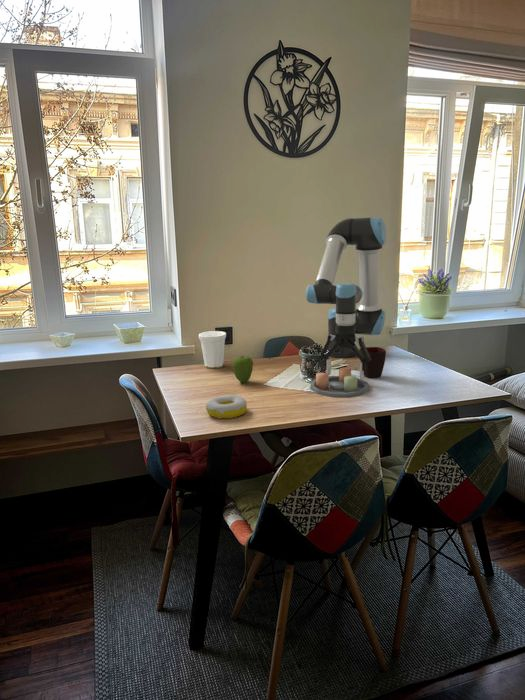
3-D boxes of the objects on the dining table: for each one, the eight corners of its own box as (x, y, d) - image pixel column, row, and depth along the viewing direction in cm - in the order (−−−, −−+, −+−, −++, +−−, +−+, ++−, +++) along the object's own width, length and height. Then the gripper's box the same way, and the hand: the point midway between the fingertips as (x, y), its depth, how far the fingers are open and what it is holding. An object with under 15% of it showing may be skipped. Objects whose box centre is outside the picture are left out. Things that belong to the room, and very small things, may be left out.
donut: (205, 421, 168) (204, 407, 166) (207, 407, 181) (206, 394, 180) (247, 419, 168) (247, 405, 167) (246, 405, 182) (245, 392, 180)
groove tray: (301, 385, 201) (300, 380, 200) (348, 378, 209) (348, 373, 208) (328, 403, 181) (328, 397, 181) (379, 394, 189) (379, 388, 188)
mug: (365, 382, 203) (366, 353, 200) (352, 373, 216) (353, 345, 213) (388, 380, 204) (389, 351, 202) (374, 371, 218) (375, 344, 215)
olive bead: (341, 390, 191) (341, 376, 189) (352, 389, 192) (352, 375, 191) (348, 394, 186) (348, 380, 185) (359, 392, 188) (359, 378, 187)
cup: (196, 369, 228) (194, 336, 225) (206, 361, 240) (205, 330, 236) (221, 370, 225) (220, 337, 221) (231, 363, 236) (229, 331, 233)
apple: (244, 377, 214) (243, 351, 211) (258, 381, 208) (257, 354, 205) (228, 382, 208) (227, 355, 205) (242, 386, 202) (241, 358, 199)
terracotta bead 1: (313, 388, 194) (313, 374, 193) (320, 385, 198) (320, 371, 196) (324, 390, 191) (324, 377, 190) (330, 387, 195) (330, 373, 193)
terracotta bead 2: (346, 380, 203) (347, 367, 202) (353, 383, 199) (353, 370, 198) (336, 381, 201) (336, 368, 200) (342, 385, 197) (342, 371, 196)
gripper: (311, 323, 197) (312, 375, 202) (374, 328, 185) (373, 382, 191) (319, 320, 203) (319, 370, 209) (380, 324, 192) (378, 377, 197)
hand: (344, 376), depth 200 cm, fingers open, 13 cm apart
